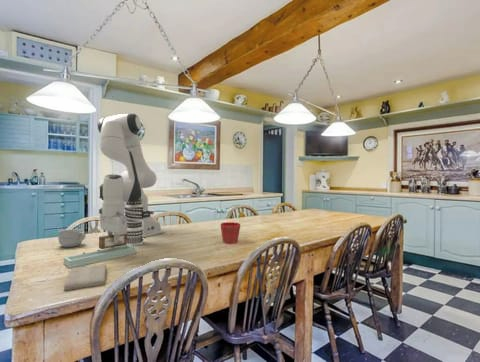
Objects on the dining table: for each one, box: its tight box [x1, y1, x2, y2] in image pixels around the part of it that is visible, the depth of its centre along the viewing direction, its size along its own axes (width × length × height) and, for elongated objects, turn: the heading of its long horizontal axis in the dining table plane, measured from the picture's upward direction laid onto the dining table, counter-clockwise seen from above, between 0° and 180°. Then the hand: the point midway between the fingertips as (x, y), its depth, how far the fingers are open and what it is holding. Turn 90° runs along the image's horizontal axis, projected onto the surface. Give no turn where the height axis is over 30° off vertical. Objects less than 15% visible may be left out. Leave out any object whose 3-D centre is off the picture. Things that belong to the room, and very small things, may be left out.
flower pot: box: [220, 221, 241, 244], centre depth 148 cm, size 11×11×10 cm
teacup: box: [57, 228, 86, 248], centre depth 138 cm, size 14×11×8 cm
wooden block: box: [98, 234, 127, 250], centre depth 123 cm, size 11×3×5 cm, turn 138°
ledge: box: [63, 245, 137, 269], centre depth 119 cm, size 27×8×3 cm, turn 139°
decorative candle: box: [124, 198, 144, 247], centre depth 143 cm, size 9×9×25 cm
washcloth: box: [63, 263, 108, 291], centre depth 96 cm, size 12×18×3 cm, turn 25°
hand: (113, 241), depth 123 cm, fingers closed on wooden block, 3 cm apart
